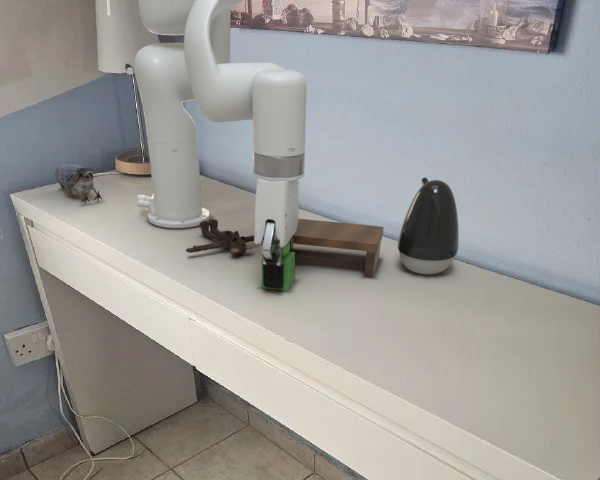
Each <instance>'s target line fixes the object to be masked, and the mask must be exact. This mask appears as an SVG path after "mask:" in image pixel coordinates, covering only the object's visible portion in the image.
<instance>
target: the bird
mask: <svg viewBox="0 0 600 480" xmlns="http://www.w3.org/2000/svg"><path fill="white" fill-rule="evenodd" d="M93 172H95V169H92V168H91V167H90V168H89V167H85V166H84V167H83V166H81V165H78V164H74V163H70V164H66V163H59V164H58V165H57V167H56V168H55V180H56V182H57V183H58V185H60V187H61V188H62V190H65V191H66V192H67V193H69V194H70V193H71V194H73V195H76V196H83V199H82V200H81V202H80V204H82V203H83V202H84V204H85V205H87V202H88V203H91V201H90V199H89V197H88V195H89V194H90V193H91V191H93V192H94V193H95V194H96V196H94V198H93V201H95V200H97V202H98V203H99V201H100V200H103V198H102V196H101V193H100V190H98V191H97V190H96V188H95V187H94V173H93Z"/></svg>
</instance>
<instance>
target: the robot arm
mask: <svg viewBox="0 0 600 480" xmlns="http://www.w3.org/2000/svg"><path fill="white" fill-rule="evenodd" d="M243 1H244V0H137V2H138V3H137V4H138V11H139V16H140V21H141V23H142V25H143V27H144V28H145V30H147V31H148V32H150V33H152V34H155V35H161V36H184V37H183V42H158V43H151V44H148V45H146V46H143V47H142V48H140V49H139V50H138V51H137V53H136V55H135V57H134V61H133V71H134V76H135V81H136V84H137V89H138V92H139V96H140V100H141V105H142V110H143V115H144V122H145V131H146V140H147V148H148V158H149V166H150V176H151V185H152V195H151V196H149V195H147V194H138V195H137V196H136V202H137V206H138V208H148V210H149V212H148V214H147V220H148V222H149V223H150V224H151V225H154V226H156V227H159V228H166V229H187V228H195V227H198V226H199V227H200V222H202V221H208V222H209V221H210V220H211V212H210V211H209V210H208V209H206V208H204V207H203V204H202V186H201V174H200V173H201V172H200V159H199V158H200V157H199V145H198V144H199V143H198V130H197V126H196V123H195V121H194V119H193V117H192V116H191V115H190V113H189V112H188V111H187V109H186V108H185V107H184V105H183V103H184V102H185V103H187V102H191V101H195V104H196V105H197V108H198V110H199V112H200V113H201V114H202V116H203V117H204V118H205V119H207V120H209V121H211V122H214V123H226V122H227V123H229V122H237V121H239V122H240V121H249V120H250V121H251V120H252V149H253V150H252V151H253V176H254V177H255V178H256V187H255V199H254V226H253V229H254V230H253V231H254V232H253V235H254V241H253V242H254V244H255V245H256V246H260V245H261V244H262V248H261V254H262V258H263V286H264V287H268V288H277V289H282V288H283V286H284V264H281V263H282V253H283V247H284V246H285V245H286V244H287V243H288V242H289V243H290V248H294V245H295V244H294V243H293V235H294V233H295V232H296V229H297V225H298V219H299V180H301V179H303V178H304V177H305V161H306V124H307V122H306V121H307V120H306V119H307V79H306V77H305V75H304V74H303V73H302V72H300V71H298V70H294V69H285V68H283V67H282V66H280V65H279V64H276V63H274V62H267V61H260V62H259V61H257V62H231V21H232V20H231V19H232V17H231V8H234V7H235V6H237V5H238V4H240V3H242V2H243ZM274 240H275V241H280V242H279V245H277V244H273V242H274ZM273 248H276V249H278V253H277V254H276V252H273ZM293 250H294V249H290V250H289V252H293Z"/></svg>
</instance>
